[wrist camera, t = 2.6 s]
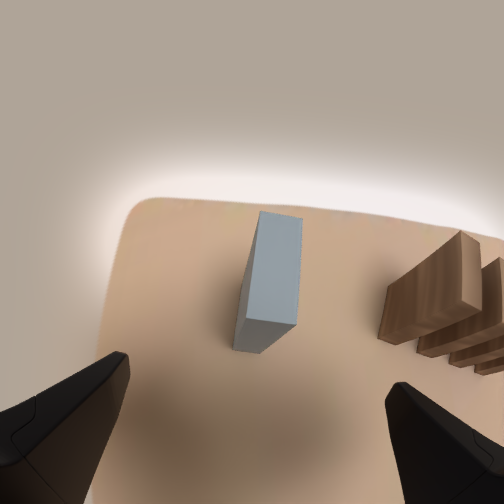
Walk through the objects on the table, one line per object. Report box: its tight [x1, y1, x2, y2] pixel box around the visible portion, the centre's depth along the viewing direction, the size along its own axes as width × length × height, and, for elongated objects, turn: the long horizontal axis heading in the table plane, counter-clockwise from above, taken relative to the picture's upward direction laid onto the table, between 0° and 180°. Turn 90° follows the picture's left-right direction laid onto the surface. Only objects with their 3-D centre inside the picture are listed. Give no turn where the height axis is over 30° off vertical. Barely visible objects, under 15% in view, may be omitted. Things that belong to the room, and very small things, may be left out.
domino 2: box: [377, 231, 482, 345], centre depth 18 cm, size 2×5×10 cm, turn 158°
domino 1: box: [232, 211, 303, 354], centre depth 16 cm, size 2×5×10 cm, turn 173°
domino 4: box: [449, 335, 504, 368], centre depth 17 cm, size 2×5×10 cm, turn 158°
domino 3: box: [417, 257, 504, 358], centre depth 17 cm, size 2×5×10 cm, turn 158°
